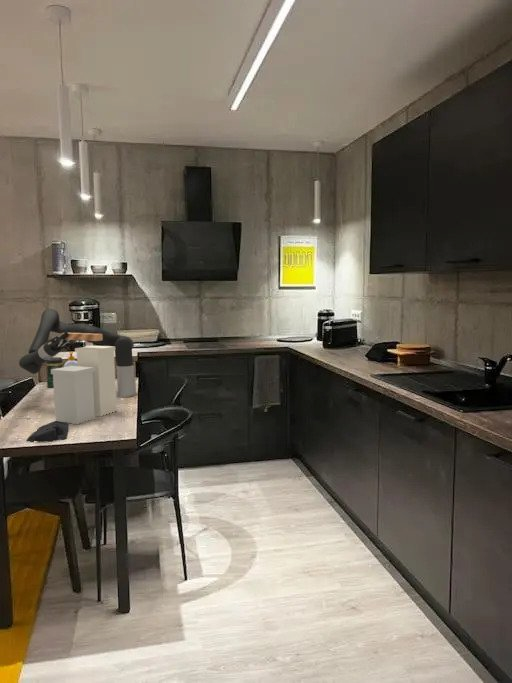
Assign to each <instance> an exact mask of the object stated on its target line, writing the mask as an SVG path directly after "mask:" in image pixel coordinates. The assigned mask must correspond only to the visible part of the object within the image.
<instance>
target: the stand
mask: <svg viewBox="0 0 512 683" xmlns="http://www.w3.org/2000/svg"><path fill="white" fill-rule="evenodd" d="M74 353H76V361H77V366H81V367H94V372H93V391H94V411H95V415H96V416H95V417H99V416H101V417H104V416H107V415H110V414H113V413H116V412H117V411H118V410H117V409H118V408H117V392H116V391H117V388H116V387H117V386H116V369H115V368H116V365H115V346H108V345H93V346H87V347H85V346H83V347H75V348H74ZM115 411H116V412H115ZM112 412H113V413H112ZM109 413H110V414H109ZM106 414H107V415H106ZM103 415H104V416H103Z"/></svg>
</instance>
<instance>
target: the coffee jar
mask: <svg viewBox="0 0 512 683" xmlns="http://www.w3.org/2000/svg"><path fill="white" fill-rule="evenodd" d="M63 364H64V363H63V358H62V356H61V357H60V356H54V357H52V358H51V359H49V360H47V361H46V362H45V366H46V367H47V380H46V387H47V388H50V389H51V388H52V389H54V385H53V374H51V370H52V369H57V368H62V367H63V366H64V365H63Z"/></svg>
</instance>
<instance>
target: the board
mask: <svg viewBox="0 0 512 683" xmlns="http://www.w3.org/2000/svg"><path fill="white" fill-rule="evenodd" d="M63 334H64V333H60V335H63ZM68 334H69V336H68V337H67V338H65V339H63V340H73V341H84V342H85V341H101V340H103V335H102V334H91V333H68Z"/></svg>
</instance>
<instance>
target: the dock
mask: <svg viewBox="0 0 512 683" xmlns="http://www.w3.org/2000/svg"><path fill="white" fill-rule="evenodd" d="M93 372H94V367H81V366H68V367H64V366H62V368H57V369H52V370H51V374H53V385H54V388H53V397H54V398H53V399H54V413H55V414H54V417H55V418H54V419H55V421H59V422H67V423H68V424H69V423H72V424H71V425H77V424H78V425H80V424H79V423H81V424H83V423H86V422H89V421H92V420H95V419H96V416H95V411H94V391H93ZM94 418H95V419H94ZM91 419H92V420H91ZM88 420H89V421H88ZM85 421H86V422H85ZM82 422H83V423H82Z"/></svg>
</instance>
